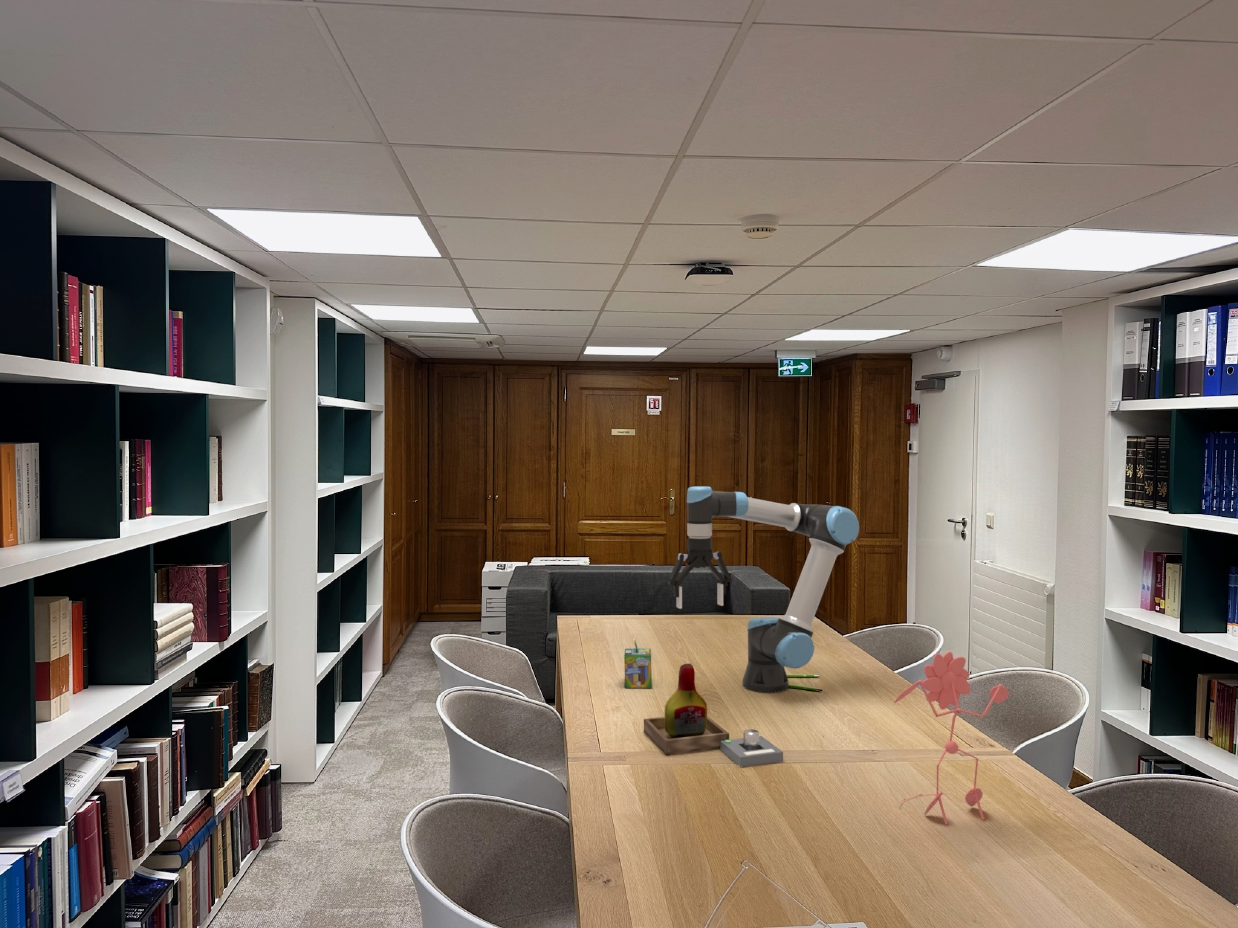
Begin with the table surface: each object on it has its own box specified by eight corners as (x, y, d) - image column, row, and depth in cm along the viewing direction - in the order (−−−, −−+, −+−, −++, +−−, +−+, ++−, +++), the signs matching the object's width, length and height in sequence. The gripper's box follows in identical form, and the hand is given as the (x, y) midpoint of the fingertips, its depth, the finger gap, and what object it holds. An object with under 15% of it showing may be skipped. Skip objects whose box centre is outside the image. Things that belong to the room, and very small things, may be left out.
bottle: (705, 731, 226) (705, 660, 225) (709, 740, 219) (709, 666, 219) (662, 733, 225) (662, 661, 224) (665, 741, 218) (665, 667, 218)
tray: (702, 725, 233) (702, 712, 233) (729, 747, 216) (729, 733, 216) (643, 732, 228) (643, 718, 228) (666, 755, 211) (665, 740, 211)
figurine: (1020, 816, 175) (1017, 654, 175) (915, 831, 168) (912, 663, 168) (972, 789, 190) (970, 640, 190) (874, 802, 183) (872, 647, 183)
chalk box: (651, 688, 269) (651, 644, 269) (624, 688, 269) (624, 644, 269) (651, 680, 278) (651, 638, 278) (625, 680, 279) (624, 638, 278)
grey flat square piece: (761, 745, 218) (761, 734, 218) (783, 761, 206) (783, 750, 206) (720, 750, 214) (720, 739, 214) (740, 767, 203) (740, 755, 203)
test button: (754, 745, 213) (754, 728, 213) (761, 750, 209) (761, 733, 209) (740, 746, 212) (740, 730, 212) (747, 752, 208) (747, 735, 208)
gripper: (731, 534, 254) (731, 601, 255) (657, 537, 247) (657, 606, 247) (742, 536, 247) (742, 605, 248) (665, 540, 240) (666, 611, 240)
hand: (699, 606), depth 247 cm, fingers open, 13 cm apart
